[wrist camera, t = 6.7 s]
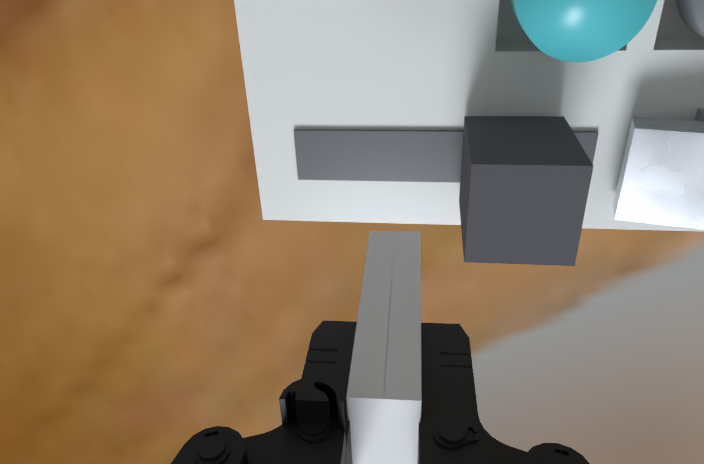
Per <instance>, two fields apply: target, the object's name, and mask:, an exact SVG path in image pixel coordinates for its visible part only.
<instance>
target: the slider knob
mask: <svg viewBox="0 0 704 464" xmlns="http://www.w3.org/2000/svg"><path fill="white" fill-rule="evenodd" d="M592 172H593V164H592V163H591V161H590V159H589V158H588V156H587V154H586V152H585V151H584V149H583V147H582V146H581V144H580V142H579V141H578V139H577V137H576V136H575V134H574V132H573V131H572V129H571V127H570V126H569V124H568V122H567V121H566V119H565V117H563V116H464V132H463V147H462V163H461V178H460V194H459V207H460V218H461V230H462V241H463V252H464V262H477V263H506V264H535V265H564V266H575V261H576V255H577V250H578V245H579V240H580V234H581V229H582V224H583V219H584V213H585V208H586V203H587V198H588V193H589V187H590V182H591V177H592Z"/></svg>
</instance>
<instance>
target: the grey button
mask: <svg viewBox="0 0 704 464" xmlns="http://www.w3.org/2000/svg"><path fill="white" fill-rule="evenodd" d="M676 2H677V7H678V11H679V14H680V16H681V18H682V20H683V21H684V23H685V24H686V26H687V27H688V28H689V29H690V30H691V31H693V32H694V33H695V34H697V35H699V36H701V37H703V38H704V0H676Z"/></svg>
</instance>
